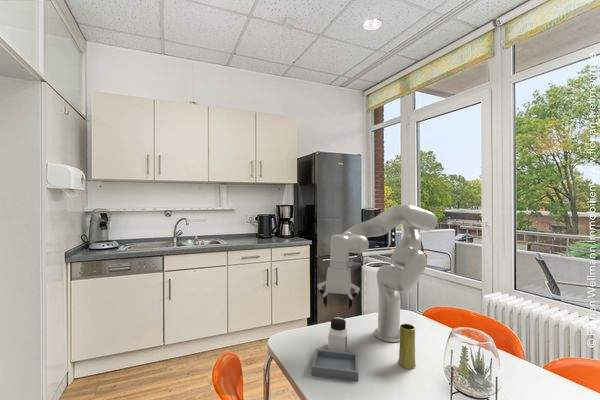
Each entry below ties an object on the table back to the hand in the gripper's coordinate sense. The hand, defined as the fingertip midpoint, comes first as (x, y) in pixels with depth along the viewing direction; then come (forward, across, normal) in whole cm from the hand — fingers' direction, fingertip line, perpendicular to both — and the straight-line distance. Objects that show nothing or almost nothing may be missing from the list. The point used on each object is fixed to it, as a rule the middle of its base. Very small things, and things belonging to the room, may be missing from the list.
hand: (337, 306), depth 118 cm
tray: (+17, -1, +14) cm, 22 cm away
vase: (+17, -27, +6) cm, 32 cm away
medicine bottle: (+17, -1, 0) cm, 17 cm away
